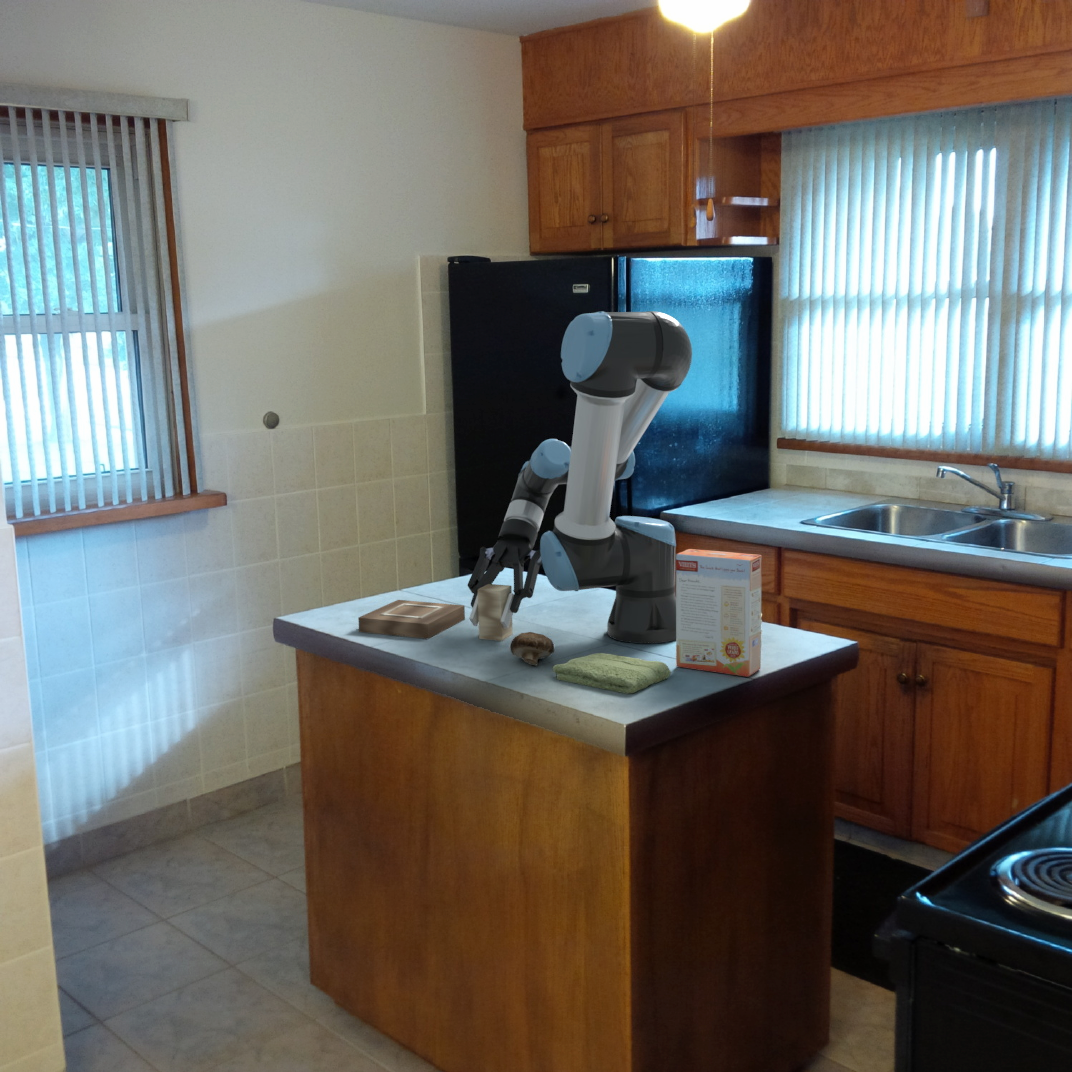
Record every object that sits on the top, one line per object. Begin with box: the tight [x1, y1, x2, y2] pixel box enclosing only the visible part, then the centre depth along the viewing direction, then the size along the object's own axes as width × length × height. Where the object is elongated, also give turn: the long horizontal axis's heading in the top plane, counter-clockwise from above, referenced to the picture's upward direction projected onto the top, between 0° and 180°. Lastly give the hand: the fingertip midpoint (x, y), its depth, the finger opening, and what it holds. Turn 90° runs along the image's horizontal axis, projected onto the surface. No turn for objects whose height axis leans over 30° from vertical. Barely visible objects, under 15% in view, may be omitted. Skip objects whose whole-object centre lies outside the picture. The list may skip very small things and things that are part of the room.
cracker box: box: [675, 548, 762, 678], centre depth 203 cm, size 14×6×21 cm, turn 58°
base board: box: [357, 599, 466, 640], centre depth 238 cm, size 16×16×3 cm
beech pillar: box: [478, 583, 514, 642], centre depth 228 cm, size 5×5×10 cm
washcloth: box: [552, 652, 672, 695], centre depth 201 cm, size 13×18×3 cm
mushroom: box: [509, 631, 555, 666], centre depth 211 cm, size 8×8×6 cm
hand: (488, 623), depth 226 cm, fingers open, 6 cm apart
